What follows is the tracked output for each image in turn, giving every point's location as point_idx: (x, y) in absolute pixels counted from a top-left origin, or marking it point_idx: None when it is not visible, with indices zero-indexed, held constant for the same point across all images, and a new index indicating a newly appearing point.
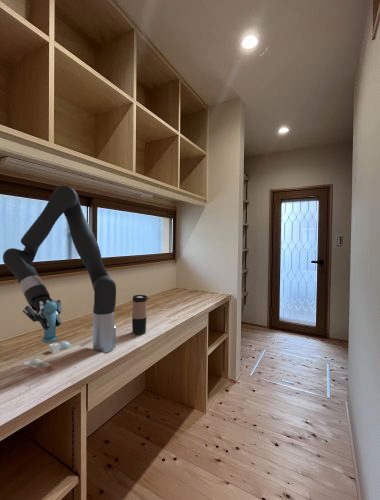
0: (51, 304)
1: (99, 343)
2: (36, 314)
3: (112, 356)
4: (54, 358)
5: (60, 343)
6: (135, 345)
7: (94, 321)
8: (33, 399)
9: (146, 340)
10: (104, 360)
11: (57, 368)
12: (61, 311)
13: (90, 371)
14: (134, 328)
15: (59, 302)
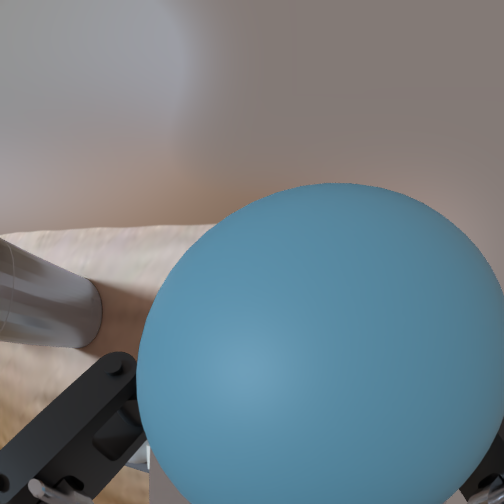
0: (424, 204)
1: (79, 294)
2: None
3: (104, 246)
4: None
5: (136, 453)
6: (39, 240)
7: (14, 307)
8: None
9: (16, 237)
10: (132, 247)
11: None
12: (106, 357)
13: (206, 230)
14: None
15: (9, 463)
